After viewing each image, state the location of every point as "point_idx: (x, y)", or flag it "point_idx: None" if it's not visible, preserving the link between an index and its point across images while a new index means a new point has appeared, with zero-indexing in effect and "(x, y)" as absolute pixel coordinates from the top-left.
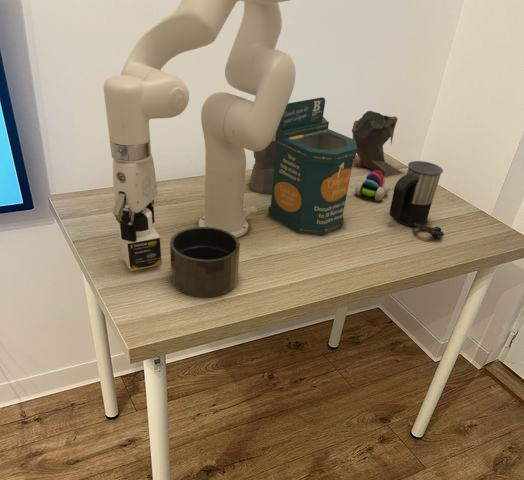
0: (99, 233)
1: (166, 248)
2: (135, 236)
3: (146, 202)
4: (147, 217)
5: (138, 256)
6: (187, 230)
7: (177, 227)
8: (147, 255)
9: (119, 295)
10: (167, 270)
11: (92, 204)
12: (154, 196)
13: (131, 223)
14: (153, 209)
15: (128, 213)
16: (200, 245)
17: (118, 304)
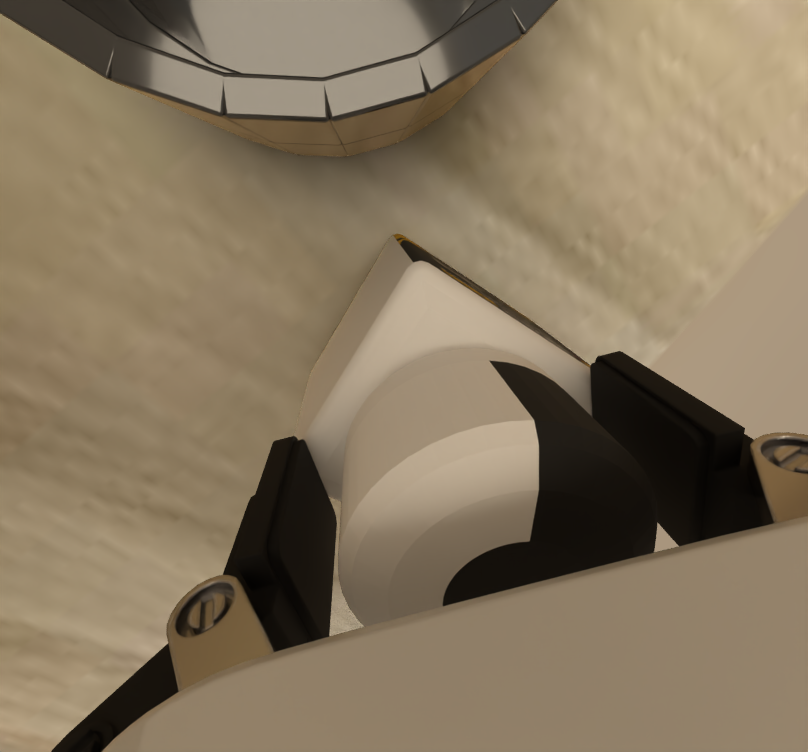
0: (332, 602)
1: (212, 349)
2: (640, 367)
3: (681, 639)
4: (528, 430)
5: (525, 319)
6: (143, 46)
7: (13, 440)
8: (479, 289)
9: (682, 246)
10: (377, 201)
11: None
12: (250, 709)
13: (791, 450)
14: (248, 528)
15: None
16: (102, 12)
17: (749, 198)
